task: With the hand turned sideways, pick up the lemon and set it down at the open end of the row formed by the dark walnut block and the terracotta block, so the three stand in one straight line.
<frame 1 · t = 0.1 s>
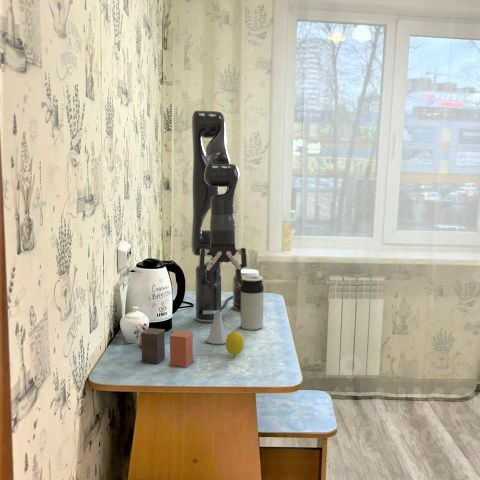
hand: (223, 282, 182), 22 cm above the table, tool pointing down, fingers open, 8 cm apart
travel mug: (251, 327, 212), on the table
lemon: (234, 357, 182), on the table
flask: (217, 341, 196), on the table
jar: (247, 308, 236), on the table
terracotta block: (181, 363, 176), on the table
pastry: (152, 347, 189), on the table
walnut block: (153, 360, 178), on the table
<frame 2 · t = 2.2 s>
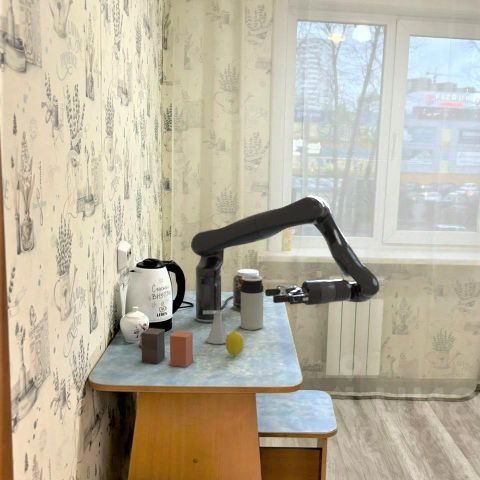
hand: (269, 296, 183), 18 cm above the table, tool horizontal, fingers open, 8 cm apart
nothing on the table moved.
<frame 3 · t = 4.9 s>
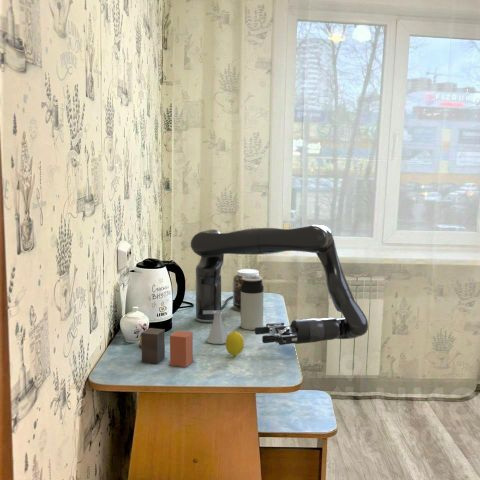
hand: (258, 335, 184), 6 cm above the table, tool horizontal, fingers open, 8 cm apart
nothing on the table moved.
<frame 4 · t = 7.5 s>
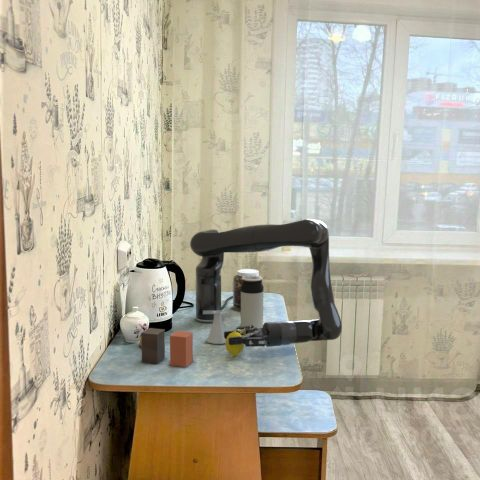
hand: (226, 338, 181), 6 cm above the table, tool horizontal, fingers closed on lemon, 5 cm apart
lemon: (234, 357, 182), on the table, touching gripper
everything else where it was.
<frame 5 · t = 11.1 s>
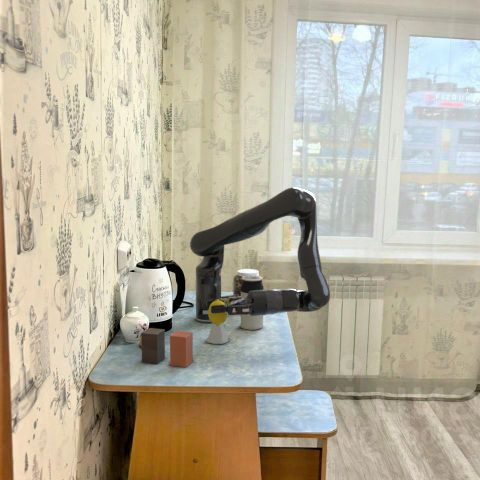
hand: (209, 306, 172), 17 cm above the table, tool horizontal, fingers closed on lemon, 5 cm apart
lemon: (218, 326, 174), point 11 cm above the table, touching gripper
everything else where it was.
when the fingers open (6 cm above the table, at t = 15.0 s): lemon stays where it is, on the table.
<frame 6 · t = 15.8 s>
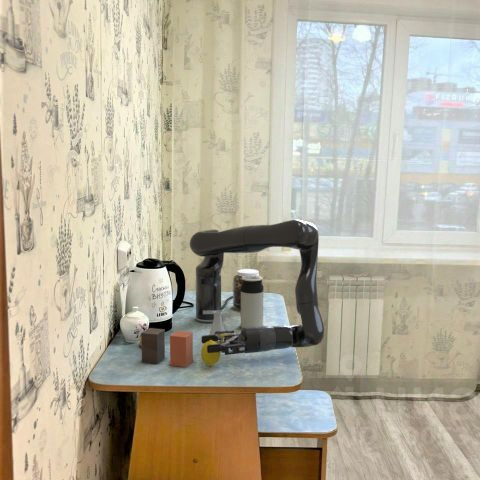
hand: (204, 344, 172), 7 cm above the table, tool horizontal, fingers open, 8 cm apart
lemon: (210, 367, 174), on the table
everything else where it was.
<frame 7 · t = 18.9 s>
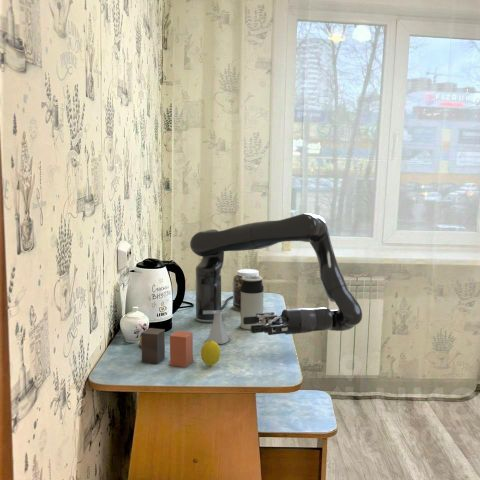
hand: (247, 324, 176), 12 cm above the table, tool horizontal, fingers open, 8 cm apart
nothing on the table moved.
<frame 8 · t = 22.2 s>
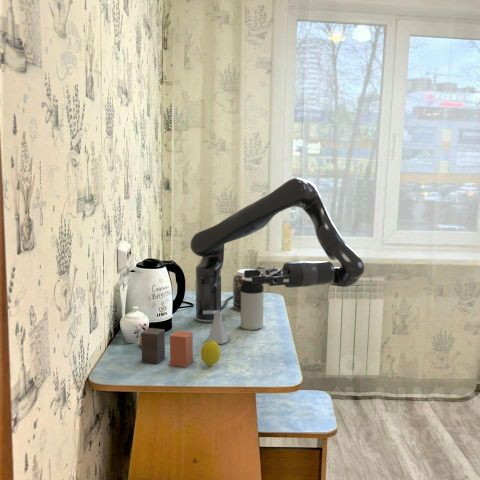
hand: (248, 277, 173), 26 cm above the table, tool horizontal, fingers open, 8 cm apart
nothing on the table moved.
at the end: lemon 0.1 cm from the target spot, on the table; terracotta block moved 0.0 cm from its start; walnut block moved 0.0 cm from its start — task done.
